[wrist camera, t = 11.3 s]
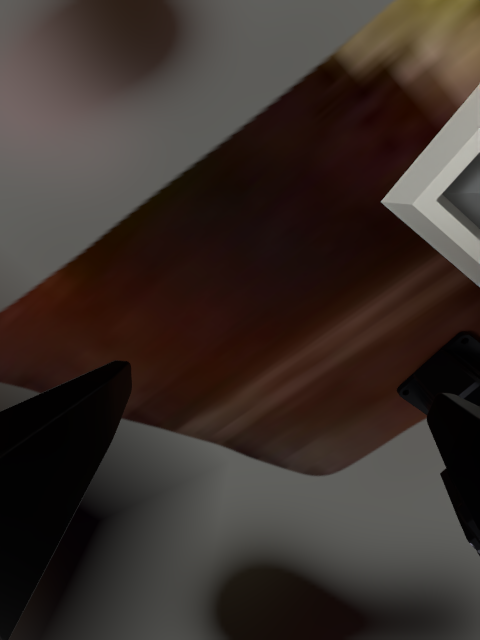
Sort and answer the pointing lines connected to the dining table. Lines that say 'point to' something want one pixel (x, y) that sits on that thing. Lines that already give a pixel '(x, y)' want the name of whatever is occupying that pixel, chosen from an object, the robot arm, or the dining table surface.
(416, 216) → the socket box
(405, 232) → the dining table surface
